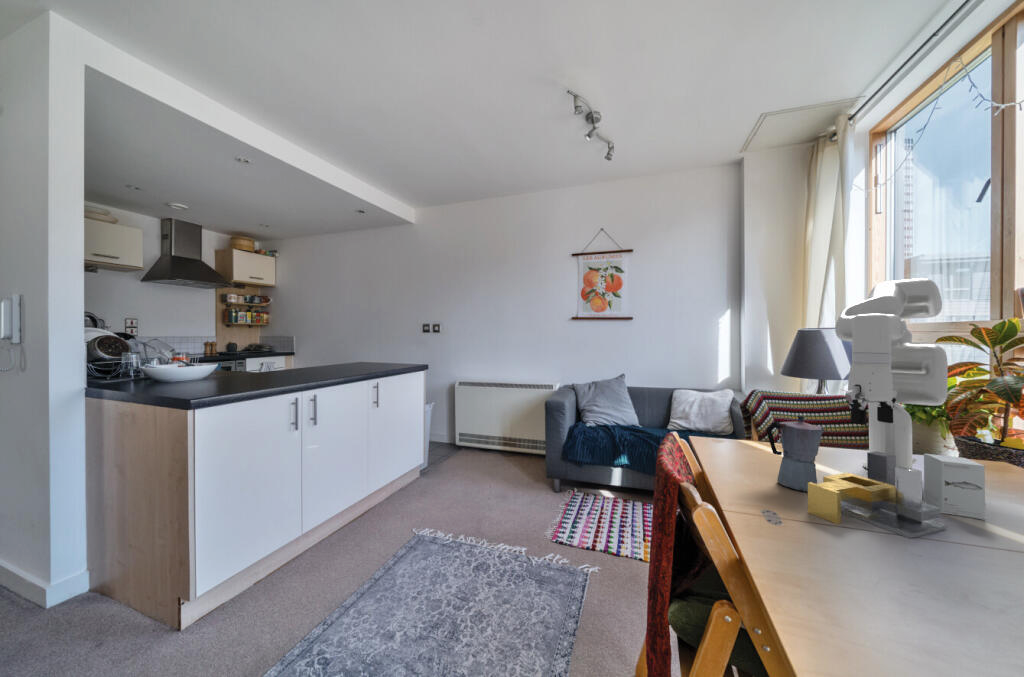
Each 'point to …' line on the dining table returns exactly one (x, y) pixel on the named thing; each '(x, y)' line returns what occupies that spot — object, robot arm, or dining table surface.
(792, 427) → the moka pot
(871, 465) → the wedge pin
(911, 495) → the stepped holder fixture
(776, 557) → the dining table surface
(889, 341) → the robot arm
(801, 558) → the dining table surface
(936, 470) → the supplement box
